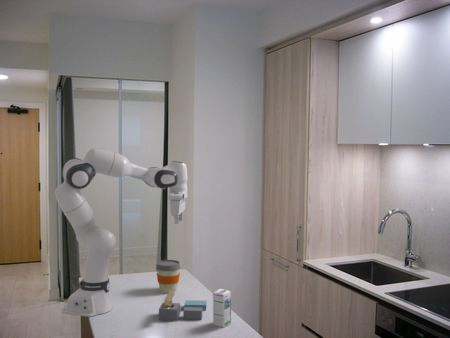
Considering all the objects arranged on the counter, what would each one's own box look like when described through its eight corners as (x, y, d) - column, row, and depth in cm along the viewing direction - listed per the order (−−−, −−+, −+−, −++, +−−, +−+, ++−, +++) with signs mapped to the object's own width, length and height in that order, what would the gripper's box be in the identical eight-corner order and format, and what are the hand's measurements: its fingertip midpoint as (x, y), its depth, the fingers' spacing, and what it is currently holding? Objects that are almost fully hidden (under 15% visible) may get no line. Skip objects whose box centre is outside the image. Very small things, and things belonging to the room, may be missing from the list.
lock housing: (159, 320, 201) (159, 308, 200) (162, 313, 209) (162, 302, 208) (200, 321, 199) (200, 310, 199) (202, 314, 207) (203, 303, 207)
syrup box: (224, 327, 193) (224, 294, 192) (212, 324, 196) (212, 291, 195) (231, 323, 197) (231, 290, 197) (219, 320, 200) (219, 288, 200)
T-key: (170, 311, 211) (170, 289, 211) (174, 311, 211) (174, 289, 211) (164, 323, 197) (164, 299, 197) (168, 323, 197) (168, 299, 197)
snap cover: (184, 311, 213) (184, 304, 213) (185, 306, 219) (185, 300, 219) (205, 311, 212) (205, 305, 212) (206, 306, 218) (206, 300, 218)
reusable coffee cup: (162, 296, 232) (162, 267, 231) (152, 289, 243) (152, 261, 242) (184, 291, 239) (184, 263, 238) (173, 285, 249) (173, 258, 249)
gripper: (176, 192, 234) (176, 218, 235) (168, 196, 213) (168, 225, 214) (188, 192, 233) (188, 218, 234) (181, 196, 213) (181, 226, 214)
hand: (178, 222), depth 224 cm, fingers open, 8 cm apart
